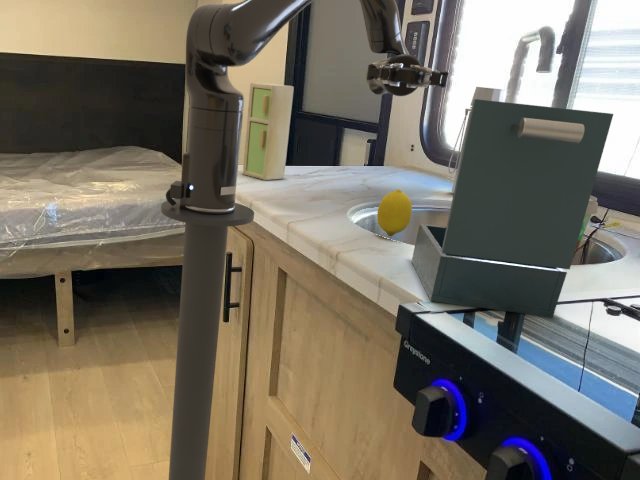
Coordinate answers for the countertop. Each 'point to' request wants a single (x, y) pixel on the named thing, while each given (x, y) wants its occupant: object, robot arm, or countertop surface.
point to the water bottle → (479, 94)
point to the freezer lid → (524, 182)
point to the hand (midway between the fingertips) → (411, 76)
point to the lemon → (394, 212)
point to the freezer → (484, 278)
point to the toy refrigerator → (267, 130)
